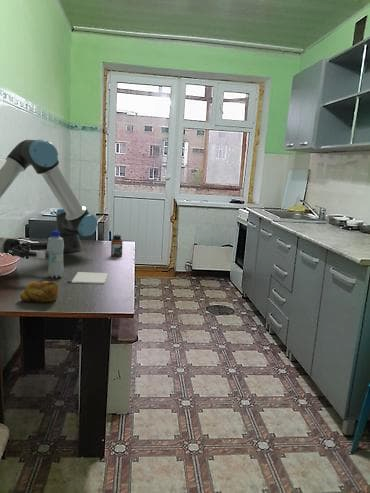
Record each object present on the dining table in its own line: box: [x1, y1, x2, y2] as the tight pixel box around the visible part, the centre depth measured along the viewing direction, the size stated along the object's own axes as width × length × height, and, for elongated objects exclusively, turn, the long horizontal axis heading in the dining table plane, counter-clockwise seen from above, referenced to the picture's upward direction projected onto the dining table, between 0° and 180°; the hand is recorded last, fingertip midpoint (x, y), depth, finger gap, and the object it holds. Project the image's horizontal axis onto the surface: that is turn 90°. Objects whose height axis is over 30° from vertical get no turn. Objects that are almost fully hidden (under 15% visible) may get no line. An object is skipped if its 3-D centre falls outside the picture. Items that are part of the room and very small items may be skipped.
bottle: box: [47, 230, 65, 279], centre depth 164 cm, size 7×7×20 cm
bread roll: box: [19, 280, 59, 304], centre depth 138 cm, size 13×10×8 cm
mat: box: [67, 271, 109, 285], centre depth 166 cm, size 14×15×1 cm
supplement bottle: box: [110, 234, 123, 258], centre depth 208 cm, size 6×6×11 cm
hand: (53, 251), depth 164 cm, fingers open, 13 cm apart
